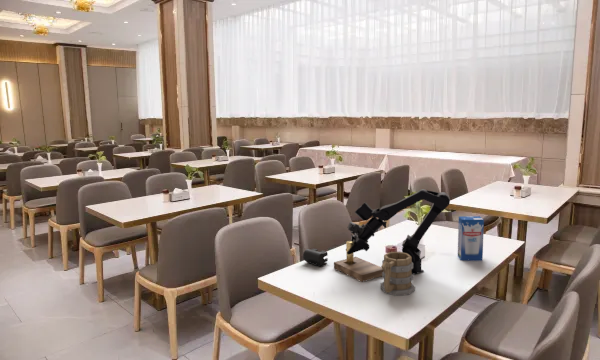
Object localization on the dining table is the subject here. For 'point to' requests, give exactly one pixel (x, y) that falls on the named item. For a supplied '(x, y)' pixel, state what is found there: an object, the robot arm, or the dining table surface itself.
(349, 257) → the peg
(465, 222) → the milk carton
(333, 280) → the dining table surface
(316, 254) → the end cap
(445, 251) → the dining table surface
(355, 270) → the hole block
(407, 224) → the dining table surface
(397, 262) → the tankard
